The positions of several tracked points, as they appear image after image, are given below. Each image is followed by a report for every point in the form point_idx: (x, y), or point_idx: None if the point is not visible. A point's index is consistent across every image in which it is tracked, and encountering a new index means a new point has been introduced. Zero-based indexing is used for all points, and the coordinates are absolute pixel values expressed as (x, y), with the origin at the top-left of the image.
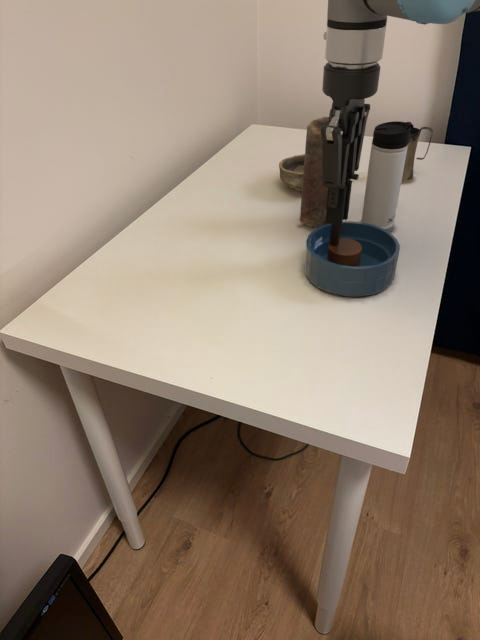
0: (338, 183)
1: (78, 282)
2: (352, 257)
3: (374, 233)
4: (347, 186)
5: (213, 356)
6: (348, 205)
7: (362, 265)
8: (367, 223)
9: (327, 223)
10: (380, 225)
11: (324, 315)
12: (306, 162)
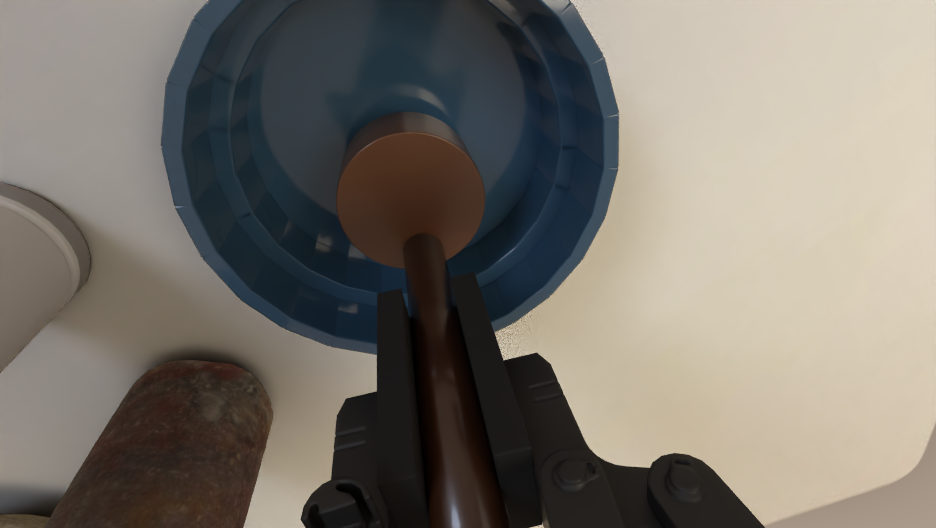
0: (712, 504)
1: (766, 508)
2: (448, 138)
3: (200, 172)
4: (418, 457)
5: (924, 187)
6: (391, 343)
7: (336, 117)
8: (69, 273)
9: (217, 370)
10: (26, 222)
11: (671, 57)
12: None
